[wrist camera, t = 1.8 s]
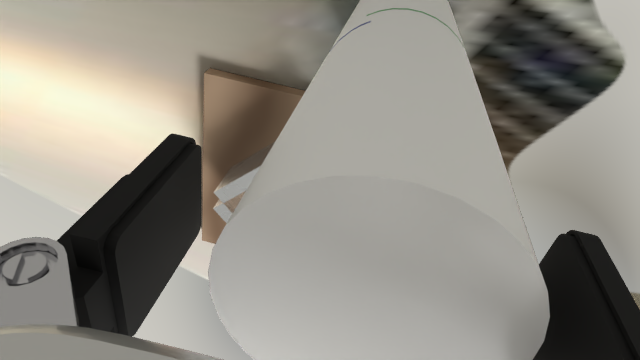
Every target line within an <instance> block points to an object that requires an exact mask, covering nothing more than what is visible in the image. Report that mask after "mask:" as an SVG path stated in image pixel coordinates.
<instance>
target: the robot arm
mask: <svg viewBox="0 0 640 360" xmlns="http://www.w3.org/2000/svg"><path fill="white" fill-rule="evenodd" d="M200 227H201V147H200V146H199V145H196V142H195V140H194V139H193V138H189V137H185V136H181V135H177V134H170V135H169V136H168V137H167V138H166V139H165V140H164V141H163V142H162V143H161V144H160V145H159V146H158V147H157V148H156V149H155V150H154V151H153V152H152V153H151V154H150V155H149V156H148V157H147V158H146V159H144V160H143V161H142V162H141V163H140V164H139V165H138V166H137V167H136V168H135V169H134V170H133V171H132V172H131V173H130V174H128V175H125V176H124V177H122V178H121V179H120V180H119V181H118V182H117V183H116V184H115V185H114V186H113V187H112V188H111V189H110V190H109V191H108V192H107V193H106V194H105V195H104V196H103V197H102V198H100V199H99V200H98V201H97V202H96V203H95V204H94V205H93V206H92V207H91V208H90V209H89V210H88V211H87V212H86V213H85V214H84V215H83V216H82V217H81V218H80V219H79V220H78V221H77V222H76V223H75V224H74V225H73V226H72V227H71V228H70V229H69V230H68V231H66V232H65V233H64V234H63V235H62V236H61V237H60V239H58V240H57V241H55V240H52V239H49V238H41V237H32V238H24V239H20V240H17V241H13V242H10V243H8V244H6V245H4V246H2V247H0V360H223V359H218V358H215V357H211V356H208V355H204V354H200V353H196V352H192V351H188V350H184V349H180V348H176V347H172V346H168V345H164V344H160V343H155V342H151V341H147V340H143V339H139V338H135V337H132V336H133V335H134V334H135V333H136V332H137V330H138V329H139V327H140V326H141V324H142V323H143V321H144V319H145V318H146V316H147V315H148V313H149V311H150V309H151V308H152V307H153V305H154V304H155V302H156V300H157V299H158V297H159V296H160V294H161V292H162V291H163V289H164V288H165V286H166V284H167V283H168V281H169V280H170V278H171V277H172V275H173V273H174V272H175V270H176V268H177V267H178V265H179V264H180V262H181V261H182V259H183V258H184V256H185V254H186V253H187V251H188V250H189V248H190V246H191V245H192V243H193V242H194V240H195V239H196V237H197V235H198V233H199V231H200ZM539 267H540V270H541V273H542V276H543V279H544V281H545V284H546V287H547V290H548V298H549V311H550V319H549V323H548V327H547V331H546V335H545V339H544V342H543V344H542V345H541V347H540V349H539V350H538V352H537V353H536V355H535V357H534V358H533V360H640V310H639V308H638V306H637V305H636V303H635V301H634V299H633V297H632V296H631V294H630V292H629V290H628V288H627V287H626V285H625V283H624V281H623V279H622V278H621V276H620V274H619V272H618V270H617V269H616V267H615V265H614V263H613V262H612V260H611V258H610V256H609V254H608V252H607V251H606V249H605V247H604V245H603V243H602V242H601V240H600V239H599V237H598V236H595V235H592V234H588V233H583V232H579V231H575V230H570V231H569V232H567V233H566V234H561V235H559V236H558V237H557V239H556V240H555V242H554V243H553V244H552V246H551V247H550V249H549V250H548V252H547V254H546V255H545V256H544V258H543V259H542V261H541V262H540V264H539Z"/></svg>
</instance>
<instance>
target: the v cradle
mask: <svg viewBox="0 0 640 360" xmlns="http://www.w3.org/2000/svg"><path fill="white" fill-rule="evenodd" d="M304 93H305V91H304V90H300V89H296V88H291V87H287V86H283V85H279V84H275V83H270V82H266V81H262V80H258V79H254V78H249V77H245V76H241V75H237V74H233V73H228V72H224V71H220V70H216V69H212V68H210V69H208V70H207V71H206V72H205V73H204V115H203V205H202V240H203V241H207V242H210V243H214V244H216V242H217V240H218V238H219V236H220V234H221V233H222V231H223V229H224V227H225V225H226V224H227V222H228V220H229V219H230V217H231V215H232V214H233V212H234V210H235V209H236V207H237V205H238V204H239V202H240V200H241V199H242V197H243V195H244V193H245V192H246V190H247V188H248V187H249V185H250V183H251V182H252V180H253V178H254V177H255V175H256V173H257V172H258V170H259V168H260V167H261V165H262V163H263V162H264V160H265V158H266V157H267V155H268V153H269V152H270V150H271V148H272V147H273V145H274V143H275V141H276V140H277V138H278V136H279V135H280V133H281V131H282V130H283V128H284V126H285V125H286V123H287V121H288V120H289V118H290V116H291V115H292V113H293V111H294V110H295V108H296V106H297V105H298V103H299V101H300V100H301V98H302V96H303V95H304Z"/></svg>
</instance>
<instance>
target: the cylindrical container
mask: <svg viewBox="0 0 640 360" xmlns="http://www.w3.org/2000/svg"><path fill="white" fill-rule="evenodd" d="M208 277H209V286H210V295H211V298H212V300H213V303H214V306H215V309H216V312H217V314H218V317H219V318H220V320H221V321H222V323H223V325H224V326H225V328H226V329H227V331H228V332H229V334H230V335H231V336H232V337H233V339H234V340H235V341H236V342H237V343H238V344H239V346H240V347H241V348H242V349H243V350H244V351H245V352H246V353H247V354H249V355H250V356H251V357H252V358H253V359H254V360H533V358H534V357H535V355H536V353H537V352H538V350H539V349H540V347H541V345H542V344H543V342H544V339H545V335H546V331H547V327H548V323H549V319H550V311H549V298H548V290H547V287H546V284H545V281H544V279H543V276H542V273H541V270H540V267H539V264H538V261H537V258H536V255H535V252H534V249H533V247H532V244H531V241H530V238H529V235H528V232H527V229H526V226H525V223H524V220H523V217H522V214H521V211H520V208H519V205H518V202H517V200H516V197H515V194H514V191H513V188H512V185H511V182H510V179H509V176H508V173H507V170H506V167H505V164H504V162H503V159H502V156H501V153H500V150H499V147H498V144H497V141H496V138H495V135H494V132H493V129H492V126H491V123H490V121H489V118H488V115H487V112H486V109H485V106H484V103H483V100H482V97H481V94H480V91H479V88H478V85H477V83H476V80H475V77H474V74H473V71H472V68H471V65H470V62H469V59H468V56H467V53H466V50H465V47H464V45H463V42H462V39H461V36H460V33H459V30H458V27H457V24H456V21H455V18H454V16H453V13H452V10H451V7H450V5H449V2H448V0H360V1H359V3H358V4H357V6H356V8H355V9H354V11H353V13H352V14H351V16H350V18H349V19H348V21H347V23H346V24H345V26H344V28H343V29H342V31H341V33H340V35H339V36H338V38H337V40H336V41H335V43H334V45H333V46H332V48H331V50H330V51H329V53H328V55H327V56H326V58H325V60H324V61H323V63H322V65H321V66H320V68H319V70H318V71H317V73H316V75H315V76H314V78H313V80H312V81H311V83H310V85H309V86H308V88H307V90H306V91H305V93H304V95H303V96H302V98H301V100H300V101H299V103H298V105H297V106H296V108H295V110H294V111H293V113H292V115H291V116H290V118H289V120H288V121H287V123H286V125H285V126H284V128H283V130H282V131H281V133H280V135H279V136H278V138H277V140H276V141H275V143H274V145H273V147H272V148H271V150H270V152H269V153H268V155H267V157H266V158H265V160H264V162H263V163H262V165H261V167H260V168H259V170H258V172H257V173H256V175H255V177H254V178H253V180H252V182H251V183H250V185H249V187H248V188H247V190H246V192H245V193H244V195H243V197H242V199H241V200H240V202H239V204H238V205H237V207H236V209H235V210H234V212H233V214H232V215H231V217H230V219H229V220H228V222H227V224H226V225H225V227H224V229H223V231H222V233H221V234H220V236H219V238H218V240H217V242H216V244H215V246H214V247H213V249H212V254H211V260H210V265H209V270H208Z"/></svg>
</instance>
